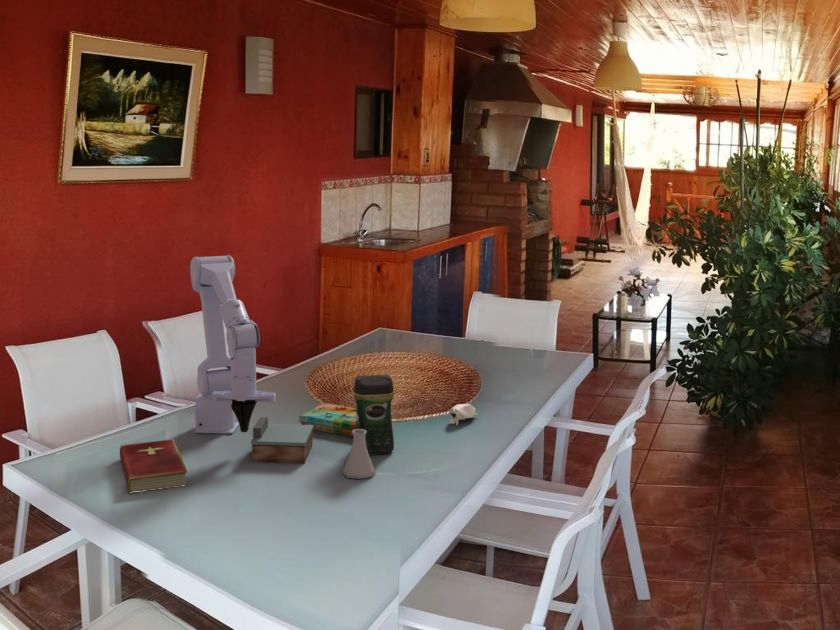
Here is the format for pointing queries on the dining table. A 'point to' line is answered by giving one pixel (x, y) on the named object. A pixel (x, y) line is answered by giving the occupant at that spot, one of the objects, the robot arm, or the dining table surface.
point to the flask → (359, 458)
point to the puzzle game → (331, 419)
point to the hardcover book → (152, 465)
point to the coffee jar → (375, 411)
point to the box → (281, 453)
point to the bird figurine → (461, 413)
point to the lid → (280, 433)
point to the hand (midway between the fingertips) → (244, 430)
